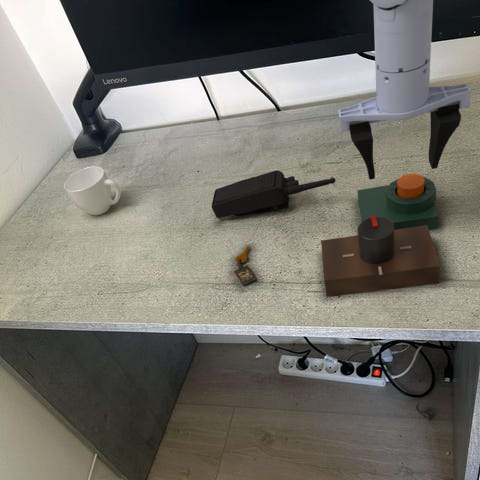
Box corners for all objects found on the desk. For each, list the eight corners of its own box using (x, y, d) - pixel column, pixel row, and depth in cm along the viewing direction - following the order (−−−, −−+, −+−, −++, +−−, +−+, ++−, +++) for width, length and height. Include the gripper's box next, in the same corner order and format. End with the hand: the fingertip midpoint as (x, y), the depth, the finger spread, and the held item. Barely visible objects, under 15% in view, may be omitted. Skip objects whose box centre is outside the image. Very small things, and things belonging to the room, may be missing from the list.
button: (421, 182, 70) (422, 171, 68) (426, 197, 67) (426, 186, 66) (395, 186, 71) (395, 176, 69) (399, 201, 68) (399, 190, 67)
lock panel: (425, 240, 67) (426, 222, 65) (439, 284, 61) (440, 266, 59) (323, 255, 70) (320, 238, 68) (326, 298, 64) (324, 281, 62)
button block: (427, 190, 74) (428, 167, 71) (439, 228, 68) (441, 204, 65) (358, 201, 76) (356, 179, 73) (364, 239, 70) (363, 216, 67)
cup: (91, 197, 97) (74, 168, 92) (135, 194, 94) (121, 163, 89) (74, 222, 92) (56, 192, 87) (120, 220, 89) (104, 188, 84)
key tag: (257, 282, 69) (256, 279, 69) (237, 287, 70) (236, 284, 69) (249, 246, 75) (248, 243, 74) (231, 251, 75) (230, 248, 75)
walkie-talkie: (218, 188, 84) (334, 160, 78) (224, 224, 84) (340, 199, 78) (205, 182, 78) (329, 151, 72) (211, 220, 78) (336, 193, 72)
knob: (397, 260, 62) (396, 234, 58) (361, 265, 62) (359, 240, 59) (391, 238, 64) (391, 212, 61) (357, 243, 65) (355, 217, 62)
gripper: (464, 31, 54) (454, 143, 64) (332, 61, 57) (342, 163, 67) (481, 57, 50) (467, 172, 60) (337, 87, 53) (346, 192, 63)
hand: (401, 169), depth 63 cm, fingers open, 7 cm apart
